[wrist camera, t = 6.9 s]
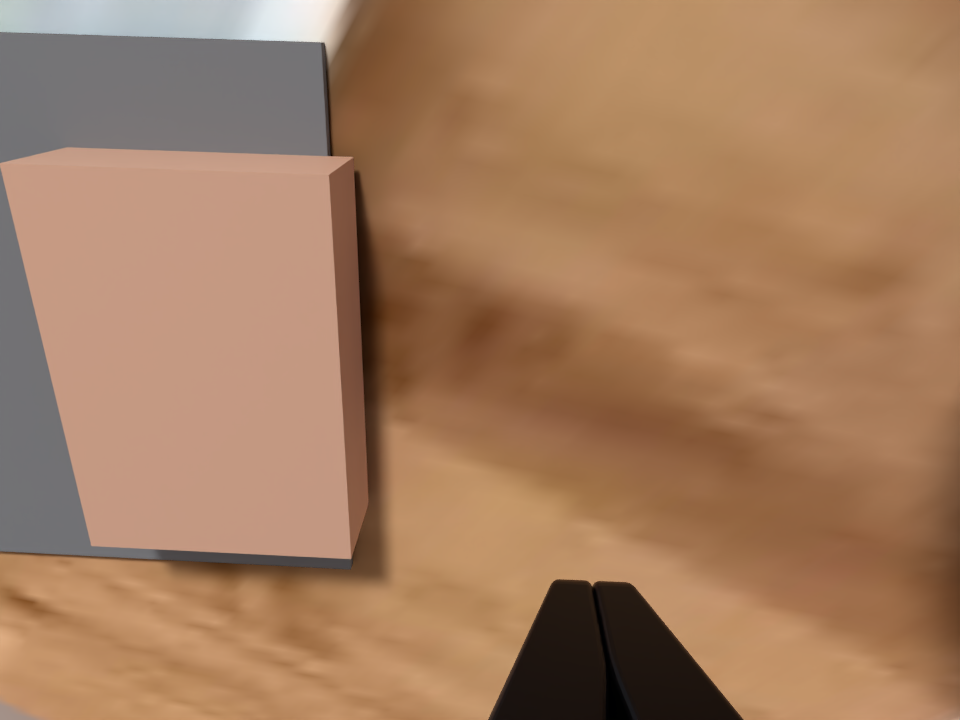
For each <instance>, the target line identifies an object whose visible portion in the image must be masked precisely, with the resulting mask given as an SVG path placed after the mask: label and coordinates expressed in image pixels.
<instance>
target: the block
mask: <svg viewBox="0 0 960 720" xmlns="http://www.w3.org/2000/svg"><path fill="white" fill-rule="evenodd" d="M0 168H1V172H2V176H3V180H4V185H5V189H6V193H7V197H8V201H9V205H10V210H11V214H12V218H13V222H14V226H15V230H16V234H17V239H18V243H19V247H20V251H21V255H22V259H23V264H24V268H25V272H26V276H27V280H28V284H29V289H30V293H31V297H32V301H33V305H34V309H35V314H36V318H37V322H38V326H39V330H40V334H41V338H42V343H43V347H44V351H45V355H46V359H47V363H48V368H49V372H50V376H51V380H52V384H53V388H54V393H55V397H56V401H57V405H58V409H59V413H60V418H61V422H62V426H63V430H64V434H65V438H66V442H67V447H68V451H69V455H70V459H71V463H72V467H73V472H74V476H75V480H76V484H77V488H78V492H79V497H80V501H81V505H82V509H83V513H84V517H85V522H86V526H87V530H88V534H89V538H90V542H91V546H99V547H119V548H139V549H159V550H179V551H199V552H219V553H239V554H259V555H279V556H299V557H319V558H339V559H351V558H352V555H353V552H354V549H355V546H356V542H357V539H358V536H359V533H360V530H361V526H362V523H363V520H364V517H365V514H366V510H367V507H368V504H369V500H368V477H367V454H366V431H365V408H364V386H363V363H362V340H361V317H360V295H359V272H358V249H357V226H356V203H355V181H354V158H353V157H337V156H307V155H278V154H249V153H219V152H190V151H161V150H131V149H102V148H73V147H66V148H62V149H58V150H53V151H49V152H45V153H41V154H36V155H32V156H28V157H24V158H20V159H15V160H11V161H7V162H3V163H0Z"/></svg>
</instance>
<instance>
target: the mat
mask: <svg viewBox="0 0 960 720" xmlns="http://www.w3.org/2000/svg"><path fill="white" fill-rule="evenodd" d="M66 147H73V148H102V149H131V150H161V151H190V152H219V153H249V154H278V155H307V156H331V155H330V137H329V118H328V100H327V82H326V63H325V45H324V43H320V42H289V41H258V40H226V39H195V38H164V37H132V36H101V35H70V34H38V33H7V32H0V163H3V162H7V161H11V160H15V159H20V158H24V157H28V156H32V155H36V154H41V153H45V152H49V151H53V150H58V149H62V148H66ZM0 551H6V552H26V553H45V554H64V555H83V556H102V557H121V558H141V559H160V560H179V561H198V562H217V563H236V564H255V565H275V566H294V567H313V568H332V569H351V567H352V564H353V559H352V558H351V559H339V558H319V557H299V556H279V555H259V554H239V553H219V552H199V551H179V550H159V549H139V548H119V547H99V546H91V542H90V538H89V534H88V530H87V526H86V522H85V517H84V513H83V509H82V505H81V501H80V497H79V492H78V488H77V484H76V480H75V476H74V472H73V467H72V463H71V459H70V455H69V451H68V447H67V442H66V438H65V434H64V430H63V426H62V422H61V418H60V413H59V409H58V405H57V401H56V397H55V393H54V388H53V384H52V380H51V376H50V372H49V368H48V363H47V359H46V355H45V351H44V347H43V343H42V338H41V334H40V330H39V326H38V322H37V318H36V314H35V309H34V305H33V301H32V297H31V293H30V289H29V284H28V280H27V276H26V272H25V268H24V264H23V259H22V255H21V251H20V247H19V243H18V239H17V234H16V230H15V226H14V222H13V218H12V214H11V210H10V205H9V201H8V197H7V193H6V189H5V185H4V180H3V176H2V172H1V168H0Z"/></svg>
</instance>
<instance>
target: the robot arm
mask: <svg viewBox="0 0 960 720" xmlns="http://www.w3.org/2000/svg"><path fill="white" fill-rule="evenodd" d="M488 720H743V719H742V717H741V716H740V715H739V714H738V712H737V711H736V710H735V709H734V708H733V706H732V705H731V704H730V703H729V701H728V700H727V699H726V698H725V697H724V695H723V694H722V693H721V692H720V690H719V689H718V688H717V687H716V686H715V684H714V683H713V682H712V681H711V679H710V678H709V677H708V676H707V675H706V673H705V672H704V671H703V670H702V669H701V667H700V666H699V665H698V664H697V662H696V661H695V660H694V659H693V658H692V656H691V655H690V654H689V653H688V651H687V650H686V649H685V648H684V647H683V645H682V644H681V643H680V642H679V640H678V639H677V638H676V637H675V636H674V634H673V633H672V632H671V631H670V629H669V628H668V627H667V626H666V625H665V623H664V622H663V621H662V620H661V618H660V617H659V616H658V615H657V614H656V612H655V611H654V610H653V609H652V607H651V606H650V605H649V604H648V603H647V601H646V600H645V599H644V598H643V596H642V595H641V594H640V593H639V592H638V590H637V589H636V588H635V587H634V586H633V585H631V584H630V583H626V582H606V581H598V582H596V583H594V585H593V586H591V584H590V583H589V582H588V581H583V580H560V579H559V580H555V581H554V582H553V583H552V584H551V586H550V588H549V590H548V592H547V594H546V596H545V599H544V601H543V603H542V605H541V607H540V609H539V611H538V614H537V616H536V618H535V620H534V622H533V624H532V627H531V629H530V631H529V633H528V635H527V637H526V639H525V642H524V644H523V646H522V648H521V650H520V652H519V655H518V657H517V659H516V661H515V663H514V665H513V667H512V670H511V672H510V674H509V676H508V678H507V680H506V683H505V685H504V687H503V689H502V691H501V693H500V695H499V698H498V700H497V702H496V704H495V706H494V708H493V711H492V713H491V715H490V717H489V719H488Z"/></svg>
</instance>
